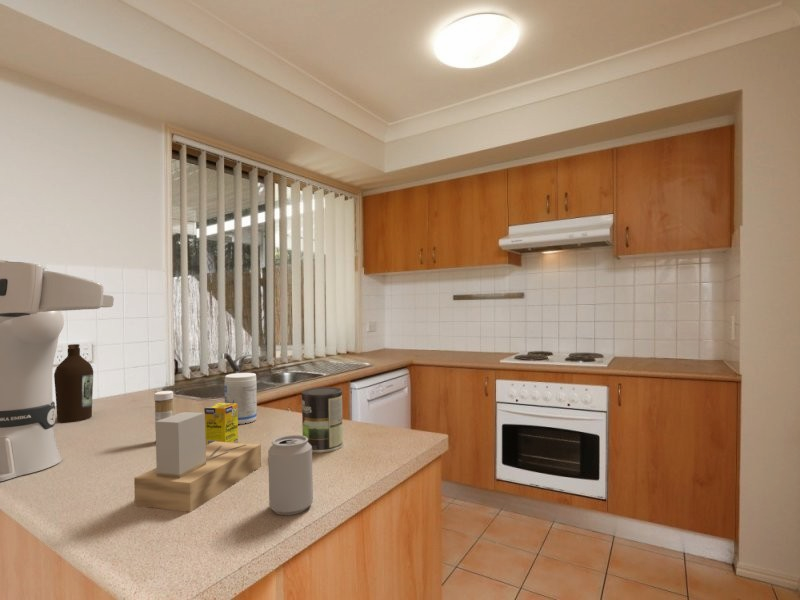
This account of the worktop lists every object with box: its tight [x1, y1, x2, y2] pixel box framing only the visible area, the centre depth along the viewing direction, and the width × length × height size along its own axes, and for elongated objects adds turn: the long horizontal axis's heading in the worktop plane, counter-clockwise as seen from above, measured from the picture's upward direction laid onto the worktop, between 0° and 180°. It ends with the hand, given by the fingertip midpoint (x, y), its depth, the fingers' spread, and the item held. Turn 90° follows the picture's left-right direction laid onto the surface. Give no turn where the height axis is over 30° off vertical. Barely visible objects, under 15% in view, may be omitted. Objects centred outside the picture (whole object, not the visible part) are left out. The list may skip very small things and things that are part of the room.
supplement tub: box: [224, 372, 258, 425], centre depth 139 cm, size 10×10×15 cm
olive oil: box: [53, 343, 94, 423], centre depth 148 cm, size 11×11×25 cm
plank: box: [133, 441, 262, 513], centre depth 89 cm, size 22×12×5 cm, turn 165°
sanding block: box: [154, 411, 206, 478], centre depth 84 cm, size 7×5×10 cm
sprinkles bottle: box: [153, 390, 174, 443], centre depth 119 cm, size 5×5×14 cm
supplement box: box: [203, 402, 239, 445], centre depth 113 cm, size 6×6×11 cm
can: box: [267, 434, 314, 516], centre depth 78 cm, size 8×8×12 cm
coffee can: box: [300, 386, 344, 454], centre depth 112 cm, size 10×10×14 cm
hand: (88, 303), depth 71 cm, fingers open, 8 cm apart
